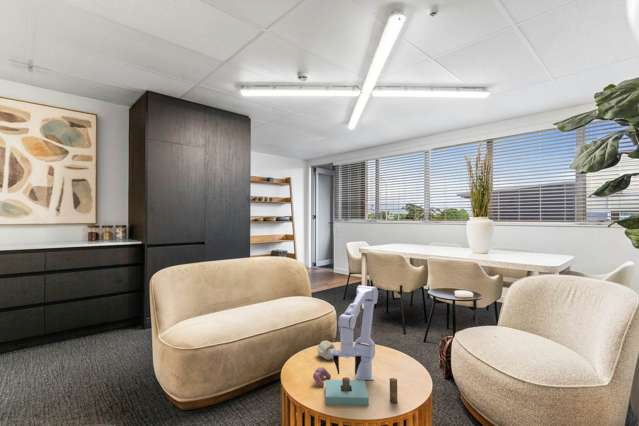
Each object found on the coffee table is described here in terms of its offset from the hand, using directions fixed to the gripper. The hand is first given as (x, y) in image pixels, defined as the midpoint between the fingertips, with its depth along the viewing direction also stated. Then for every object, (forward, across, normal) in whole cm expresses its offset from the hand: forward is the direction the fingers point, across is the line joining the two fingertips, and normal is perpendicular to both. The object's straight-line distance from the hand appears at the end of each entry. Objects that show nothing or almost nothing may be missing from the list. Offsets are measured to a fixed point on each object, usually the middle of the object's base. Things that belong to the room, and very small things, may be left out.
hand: (347, 373), depth 132 cm
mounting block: (+9, 0, 0) cm, 9 cm away
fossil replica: (+10, -10, +38) cm, 40 cm away
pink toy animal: (+10, -12, +11) cm, 19 cm away
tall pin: (+10, +20, -4) cm, 22 cm away
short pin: (+9, 0, 0) cm, 9 cm away
